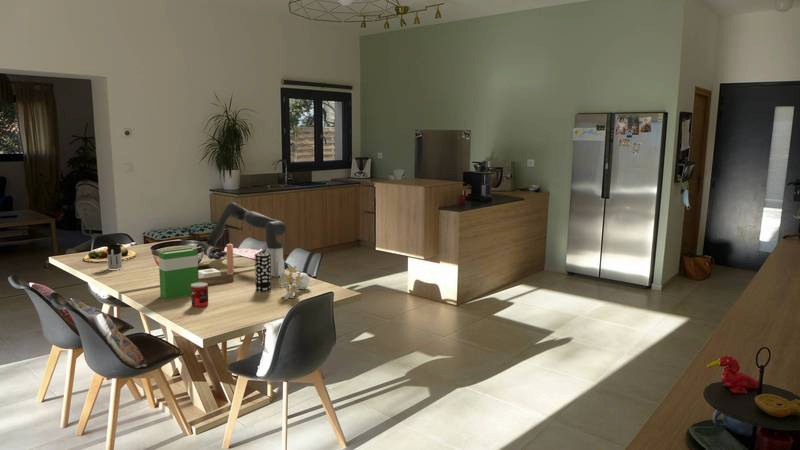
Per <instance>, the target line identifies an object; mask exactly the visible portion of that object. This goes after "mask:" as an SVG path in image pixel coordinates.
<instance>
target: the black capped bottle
mask: <svg viewBox="0 0 800 450" xmlns="http://www.w3.org/2000/svg"><path fill="white" fill-rule="evenodd" d="M106 248H107V250H108V253H107V255H108V263H107V269H108V268H109V269H118V268H122V267H123V261H122V253H121V248H122V246H121V244H119V243H115V244H113V243H112V244H108V245H107V246H106Z"/></svg>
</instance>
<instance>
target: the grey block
mask: <svg viewBox="0 0 800 450" xmlns="http://www.w3.org/2000/svg"><path fill="white" fill-rule="evenodd" d="M221 272H222V271H220V270H218V269H216V268H206V269H198V276H199V278H202V277H209V276H216V275H222V273H221Z"/></svg>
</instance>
